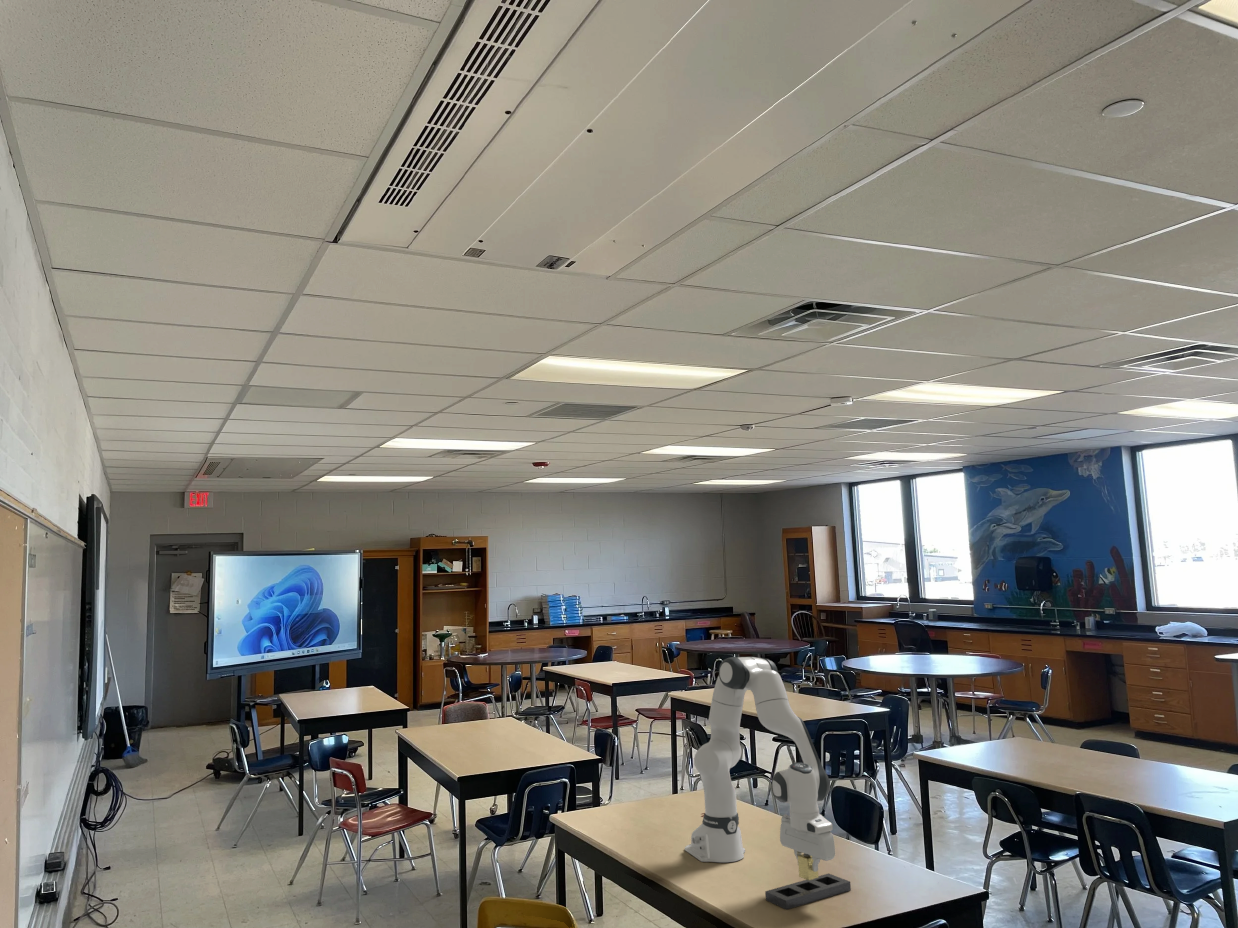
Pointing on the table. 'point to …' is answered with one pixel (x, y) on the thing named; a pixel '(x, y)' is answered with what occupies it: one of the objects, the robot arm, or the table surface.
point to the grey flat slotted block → (807, 891)
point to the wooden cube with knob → (806, 867)
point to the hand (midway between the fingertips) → (808, 868)
